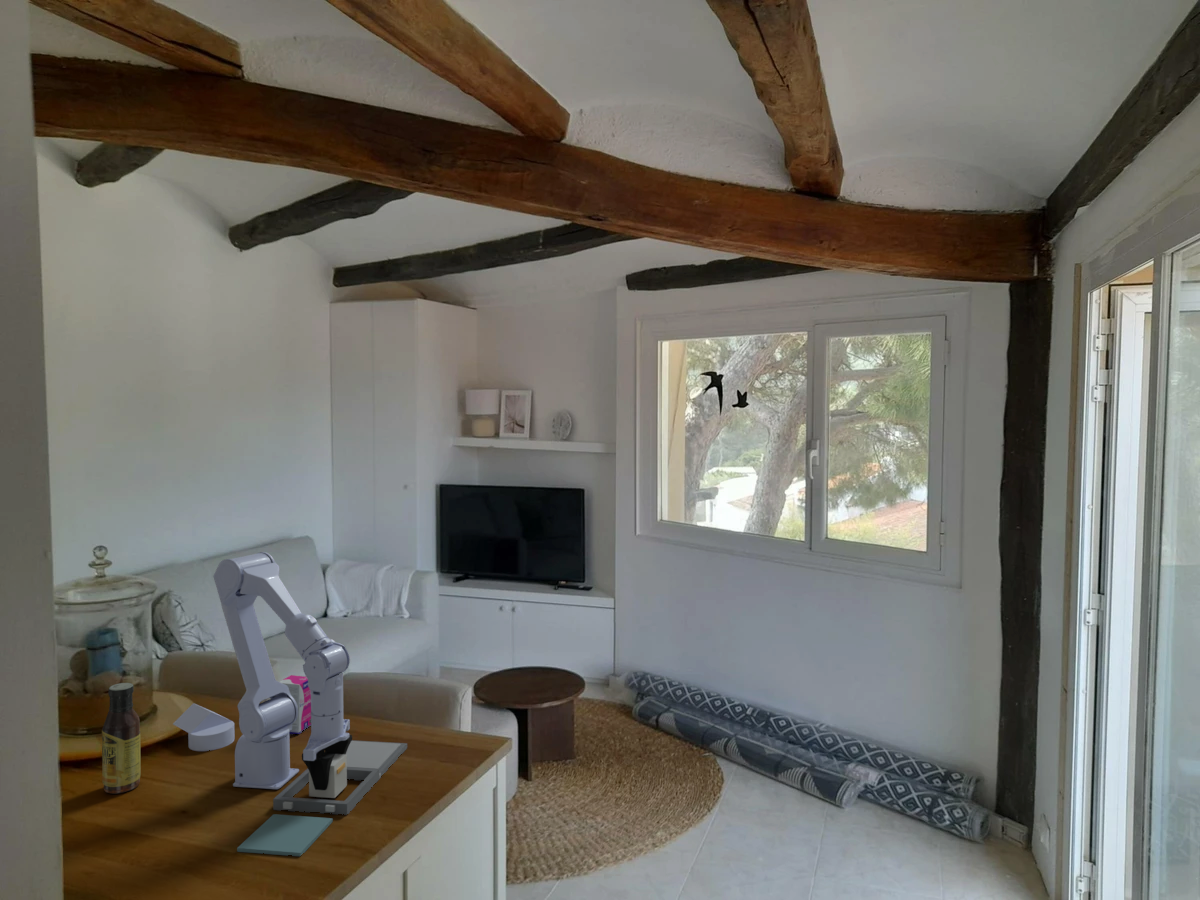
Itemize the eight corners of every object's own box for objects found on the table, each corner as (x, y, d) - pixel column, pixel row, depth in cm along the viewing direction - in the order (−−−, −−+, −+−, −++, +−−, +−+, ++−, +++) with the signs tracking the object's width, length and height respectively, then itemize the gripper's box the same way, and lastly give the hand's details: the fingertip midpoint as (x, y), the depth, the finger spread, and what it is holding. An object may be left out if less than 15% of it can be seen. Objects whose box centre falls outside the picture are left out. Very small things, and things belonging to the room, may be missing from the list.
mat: (237, 851, 128) (237, 847, 128) (273, 817, 139) (273, 814, 139) (300, 856, 127) (300, 852, 127) (332, 821, 138) (332, 818, 138)
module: (309, 796, 146) (308, 764, 146) (322, 783, 151) (321, 752, 150) (335, 798, 145) (335, 766, 145) (347, 785, 150) (347, 754, 150)
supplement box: (299, 735, 175) (298, 684, 175) (275, 733, 176) (274, 682, 176) (313, 725, 181) (313, 676, 180) (290, 723, 182) (289, 674, 181)
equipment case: (271, 811, 141) (271, 800, 141) (345, 744, 170) (344, 735, 170) (345, 816, 139) (345, 805, 139) (407, 748, 168) (407, 738, 168)
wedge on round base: (172, 739, 173) (200, 755, 165) (172, 708, 173) (199, 723, 165) (214, 726, 180) (242, 741, 172) (213, 697, 180) (241, 710, 172)
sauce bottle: (98, 788, 150) (95, 685, 149) (134, 777, 155) (132, 677, 154) (109, 799, 146) (106, 693, 145) (146, 788, 150) (143, 685, 149)
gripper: (329, 727, 140) (330, 802, 140) (364, 698, 154) (364, 766, 155) (291, 724, 140) (292, 799, 141) (330, 696, 155) (330, 764, 155)
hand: (328, 782), depth 148 cm, fingers closed on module, 5 cm apart
